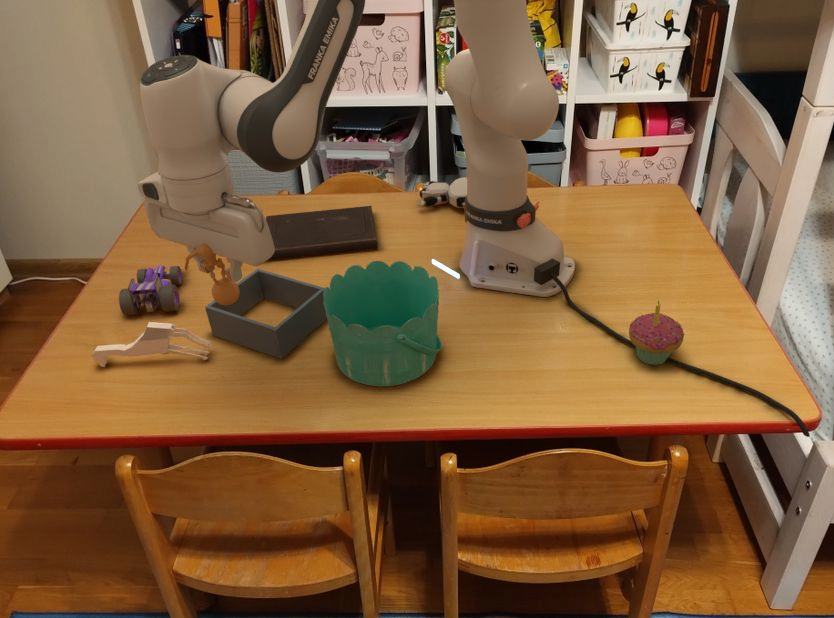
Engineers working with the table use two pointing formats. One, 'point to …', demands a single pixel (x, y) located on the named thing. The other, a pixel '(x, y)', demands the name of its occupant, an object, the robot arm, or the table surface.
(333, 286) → the basket
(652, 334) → the cupcake
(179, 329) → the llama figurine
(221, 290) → the figurine
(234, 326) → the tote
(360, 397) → the table surface
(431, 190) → the robot toy
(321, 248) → the hardcover book
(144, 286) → the toy race car
